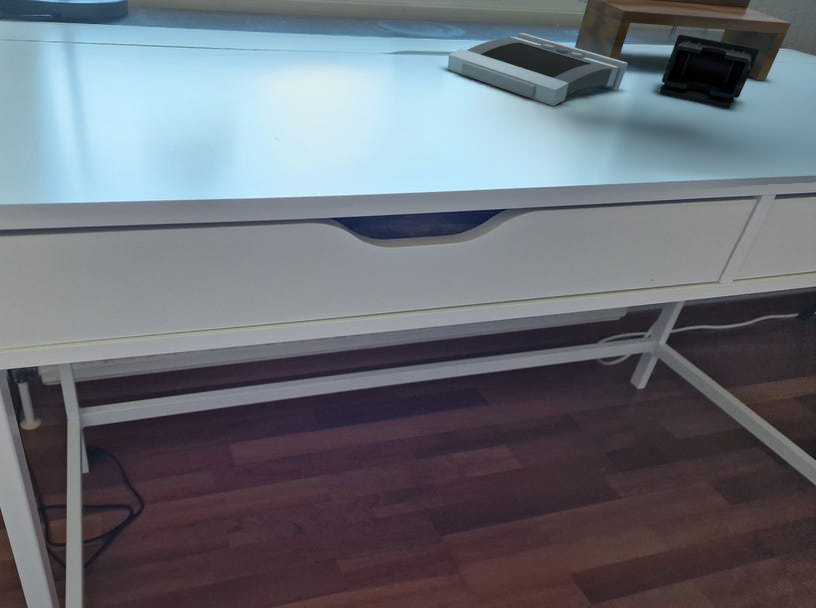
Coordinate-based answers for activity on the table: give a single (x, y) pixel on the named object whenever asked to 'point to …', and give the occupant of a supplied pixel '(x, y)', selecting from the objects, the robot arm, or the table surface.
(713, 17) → the shoe shelf
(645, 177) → the table surface
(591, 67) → the alarm clock
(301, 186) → the table surface
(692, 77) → the end cap
